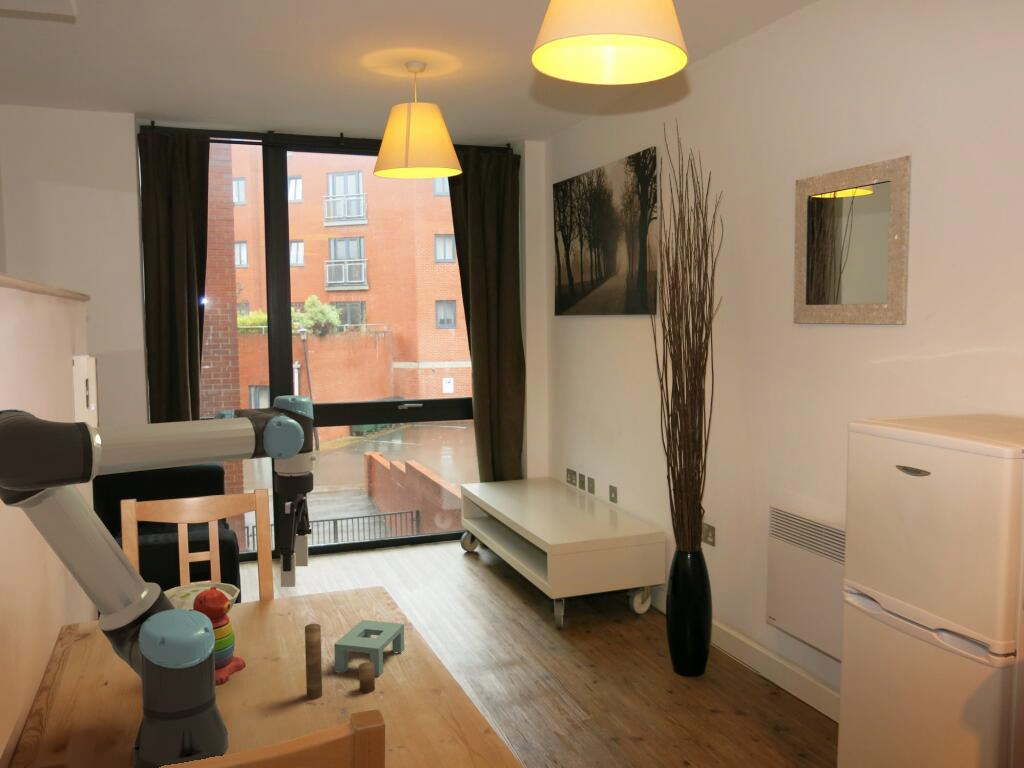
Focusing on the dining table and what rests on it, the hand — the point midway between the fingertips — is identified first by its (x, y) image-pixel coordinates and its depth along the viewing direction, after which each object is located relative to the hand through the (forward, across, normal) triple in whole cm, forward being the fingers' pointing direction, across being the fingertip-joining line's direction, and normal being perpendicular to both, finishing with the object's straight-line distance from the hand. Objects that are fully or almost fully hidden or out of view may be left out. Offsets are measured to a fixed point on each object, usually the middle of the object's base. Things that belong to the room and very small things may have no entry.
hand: (295, 575), depth 171 cm
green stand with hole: (+22, +9, -14) cm, 27 cm away
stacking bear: (+22, +5, +18) cm, 29 cm away
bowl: (+22, +28, +28) cm, 45 cm away
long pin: (+22, -7, -5) cm, 24 cm away
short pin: (+22, -5, -15) cm, 27 cm away
